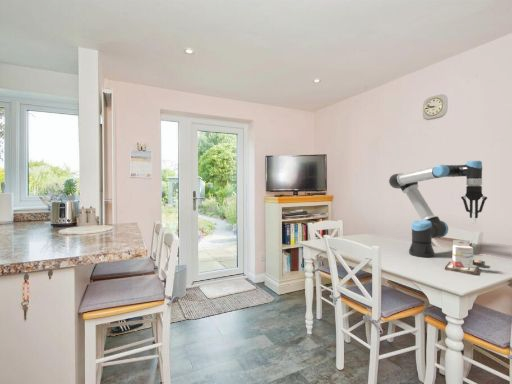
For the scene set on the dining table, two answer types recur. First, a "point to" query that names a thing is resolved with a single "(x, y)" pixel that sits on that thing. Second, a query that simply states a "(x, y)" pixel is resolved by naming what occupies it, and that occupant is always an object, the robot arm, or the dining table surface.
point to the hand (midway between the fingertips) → (473, 223)
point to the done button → (478, 261)
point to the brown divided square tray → (462, 269)
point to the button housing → (479, 264)
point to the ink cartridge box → (462, 254)
